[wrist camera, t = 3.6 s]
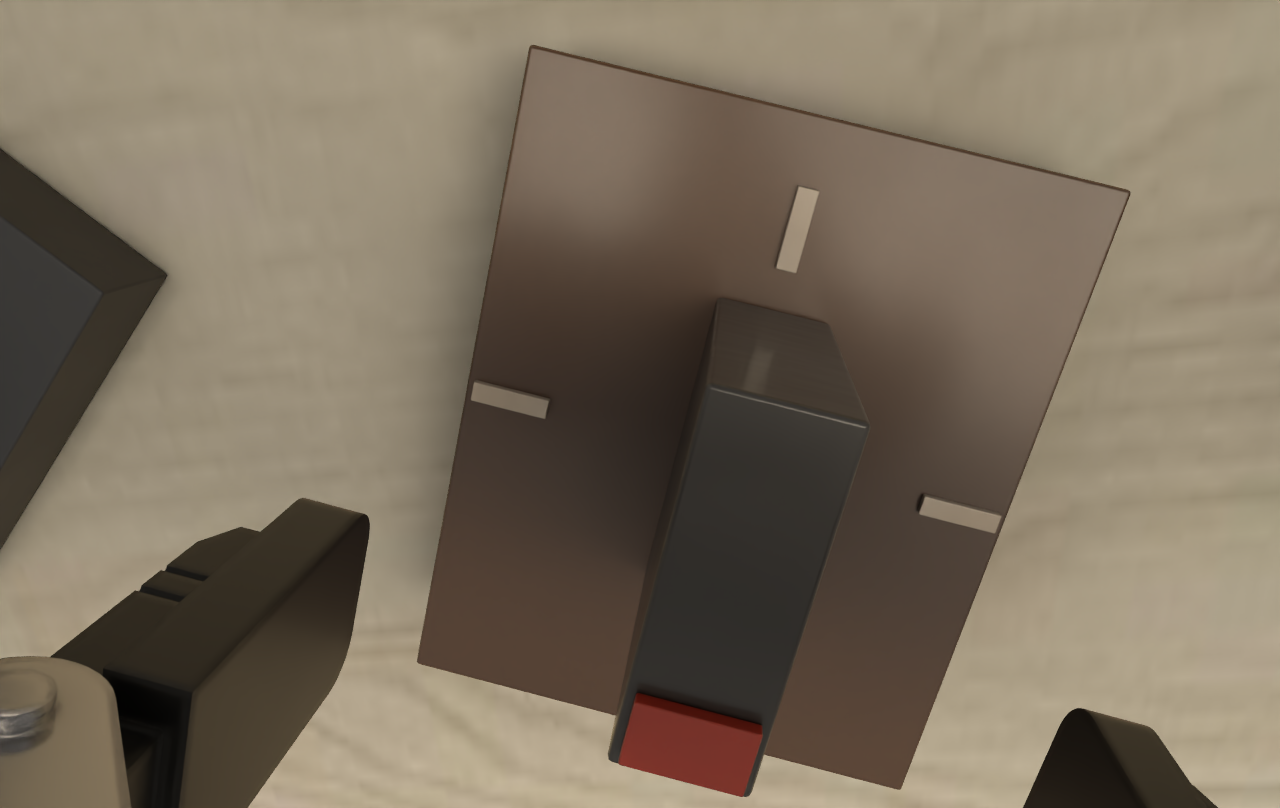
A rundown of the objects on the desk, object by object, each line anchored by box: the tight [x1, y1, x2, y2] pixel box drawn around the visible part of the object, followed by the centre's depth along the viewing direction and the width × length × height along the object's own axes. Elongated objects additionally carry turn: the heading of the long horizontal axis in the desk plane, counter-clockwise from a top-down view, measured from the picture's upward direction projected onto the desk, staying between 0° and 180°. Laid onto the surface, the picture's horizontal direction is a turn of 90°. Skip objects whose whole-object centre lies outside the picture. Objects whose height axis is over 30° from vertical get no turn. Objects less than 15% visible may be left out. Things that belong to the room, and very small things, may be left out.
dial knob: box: [608, 298, 870, 797], centre depth 15 cm, size 6×2×6 cm, turn 167°
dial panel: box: [417, 45, 1130, 790], centre depth 19 cm, size 12×10×3 cm
